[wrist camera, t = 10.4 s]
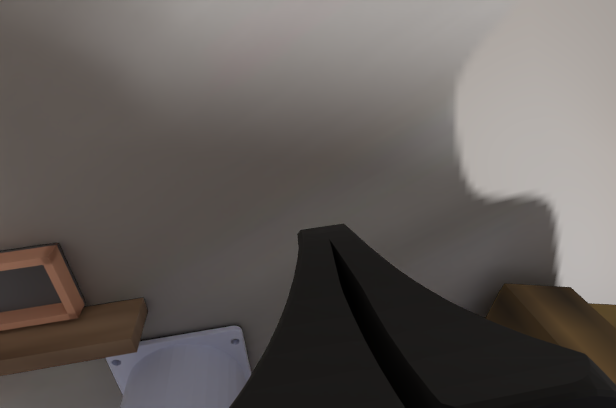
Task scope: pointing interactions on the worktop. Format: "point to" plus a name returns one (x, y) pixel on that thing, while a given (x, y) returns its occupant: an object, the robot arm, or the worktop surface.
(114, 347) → the wooden tray
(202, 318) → the worktop surface
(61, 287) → the trap pits
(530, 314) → the crate
